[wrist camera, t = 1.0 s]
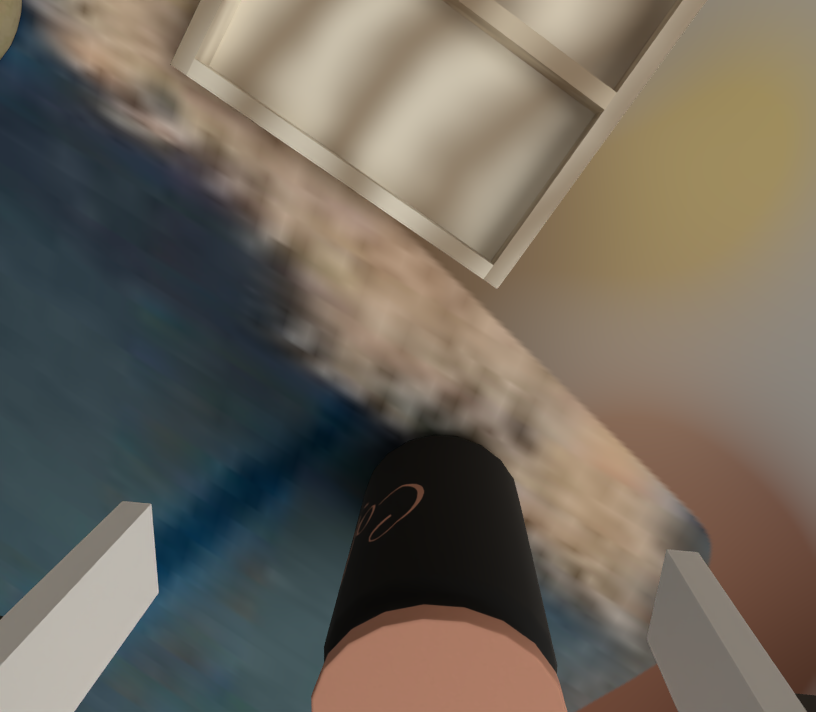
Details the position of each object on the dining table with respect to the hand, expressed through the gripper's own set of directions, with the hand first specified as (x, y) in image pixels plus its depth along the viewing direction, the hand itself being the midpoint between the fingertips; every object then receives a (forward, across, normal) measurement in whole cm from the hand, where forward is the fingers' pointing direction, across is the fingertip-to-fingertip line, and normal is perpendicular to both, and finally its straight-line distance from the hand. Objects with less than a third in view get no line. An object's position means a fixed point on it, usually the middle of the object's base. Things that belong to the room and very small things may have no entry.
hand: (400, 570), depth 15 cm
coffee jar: (+24, +2, -12) cm, 27 cm away
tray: (+24, 0, +19) cm, 30 cm away
